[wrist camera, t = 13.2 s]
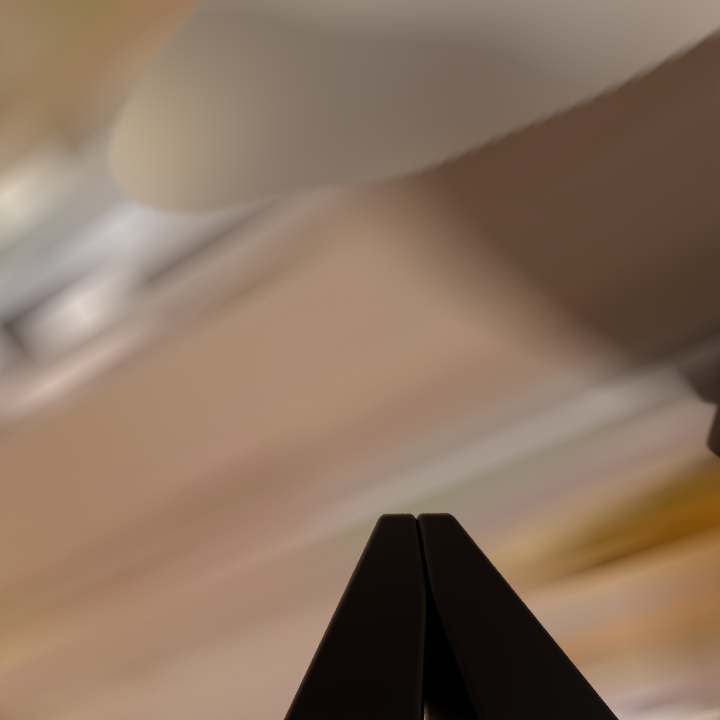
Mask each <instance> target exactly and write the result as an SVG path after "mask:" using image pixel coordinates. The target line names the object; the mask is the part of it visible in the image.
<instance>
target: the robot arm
mask: <svg viewBox="0 0 720 720" xmlns="http://www.w3.org/2000/svg"><path fill="white" fill-rule="evenodd" d="M424 714H425V720H619V719H618V718H617V717H616V716H615V715H614V713H613V712H612V711H611V710H610V708H609V707H608V706H607V705H606V703H605V702H604V701H603V700H602V698H601V697H600V696H599V695H598V694H597V692H596V691H595V690H594V689H593V687H592V686H591V685H590V684H589V682H588V681H587V680H586V679H585V678H584V676H583V675H582V674H581V673H580V671H579V670H578V669H577V668H576V666H575V665H574V664H573V663H572V662H571V660H570V659H569V658H568V657H567V655H566V654H565V653H564V652H563V650H562V649H561V648H560V647H559V645H558V644H557V643H556V642H555V641H554V639H553V638H552V637H551V636H550V634H549V633H548V632H547V631H546V629H545V628H544V627H543V626H542V625H541V623H540V622H539V621H538V620H537V618H536V617H535V616H534V615H533V613H532V612H531V611H530V610H529V609H528V607H527V606H526V605H525V604H524V602H523V601H522V600H521V599H520V597H519V596H518V595H517V594H516V592H515V591H514V590H513V589H512V588H511V586H510V585H509V584H508V583H507V581H506V580H505V579H504V578H503V576H502V575H501V574H500V573H499V572H498V570H497V569H496V568H495V567H494V565H493V564H492V563H491V562H490V560H489V559H488V558H487V557H486V556H485V554H484V553H483V552H482V551H481V549H480V548H479V547H478V546H477V544H476V543H475V542H474V541H473V539H472V538H471V537H470V536H469V535H468V533H467V532H466V531H465V530H464V528H463V527H462V526H461V525H460V523H459V522H458V521H457V520H456V519H455V517H454V516H452V515H451V514H449V513H422V514H420V515H418V517H417V518H415V516H414V515H412V514H384V515H382V516H381V517H380V518H379V519H378V521H377V523H376V525H375V528H374V530H373V532H372V534H371V536H370V538H369V540H368V542H367V545H366V547H365V549H364V551H363V553H362V555H361V557H360V559H359V561H358V564H357V566H356V568H355V570H354V572H353V574H352V576H351V578H350V581H349V583H348V585H347V587H346V589H345V591H344V593H343V595H342V598H341V600H340V602H339V604H338V606H337V608H336V610H335V612H334V615H333V617H332V619H331V621H330V623H329V625H328V627H327V629H326V631H325V634H324V636H323V638H322V640H321V642H320V644H319V646H318V648H317V651H316V653H315V655H314V657H313V659H312V661H311V663H310V665H309V668H308V670H307V672H306V674H305V676H304V678H303V680H302V682H301V685H300V687H299V689H298V691H297V693H296V695H295V697H294V699H293V701H292V704H291V706H290V708H289V710H288V712H287V714H286V716H285V718H284V720H424Z"/></svg>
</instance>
